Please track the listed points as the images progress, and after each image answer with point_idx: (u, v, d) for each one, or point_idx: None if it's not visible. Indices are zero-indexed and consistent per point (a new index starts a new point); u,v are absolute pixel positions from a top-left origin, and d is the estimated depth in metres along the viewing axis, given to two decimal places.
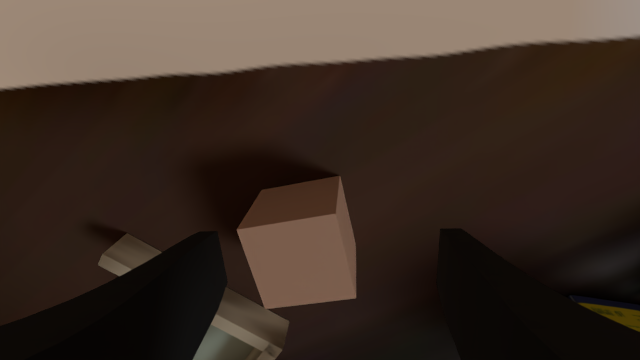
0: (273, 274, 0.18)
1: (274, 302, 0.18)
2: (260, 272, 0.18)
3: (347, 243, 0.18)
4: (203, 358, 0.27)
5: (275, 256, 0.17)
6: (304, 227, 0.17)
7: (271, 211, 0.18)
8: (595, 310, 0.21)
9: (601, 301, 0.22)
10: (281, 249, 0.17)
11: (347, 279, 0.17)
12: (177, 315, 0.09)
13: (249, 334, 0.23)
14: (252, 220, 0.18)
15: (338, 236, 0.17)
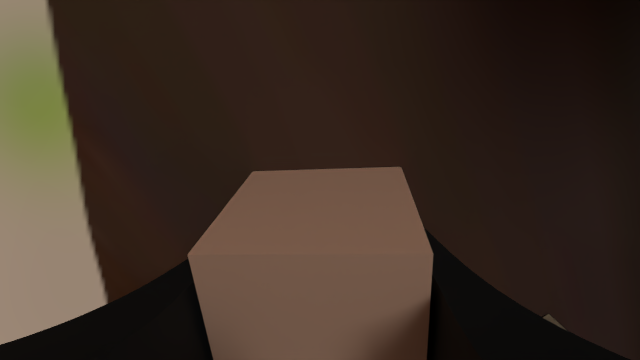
0: None
1: None
2: None
3: (319, 218, 0.08)
4: None
5: None
6: (221, 316, 0.08)
7: None
8: None
9: None
10: None
11: (369, 262, 0.07)
12: None
13: None
14: None
15: (246, 259, 0.07)
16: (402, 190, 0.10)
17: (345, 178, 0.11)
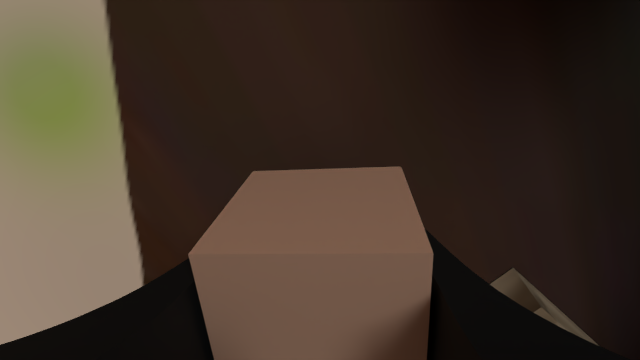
0: None
1: None
2: None
3: (319, 217, 0.08)
4: None
5: None
6: (222, 315, 0.08)
7: None
8: None
9: None
10: None
11: (370, 262, 0.07)
12: None
13: None
14: None
15: (246, 259, 0.07)
16: (402, 190, 0.10)
17: (345, 178, 0.11)
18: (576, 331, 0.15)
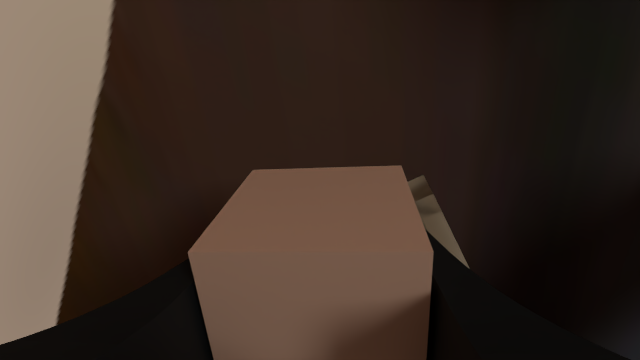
0: None
1: None
2: None
3: (319, 216, 0.08)
4: None
5: None
6: (221, 313, 0.08)
7: None
8: None
9: None
10: None
11: (369, 260, 0.07)
12: None
13: None
14: None
15: (246, 257, 0.07)
16: (402, 189, 0.10)
17: (345, 177, 0.11)
18: None
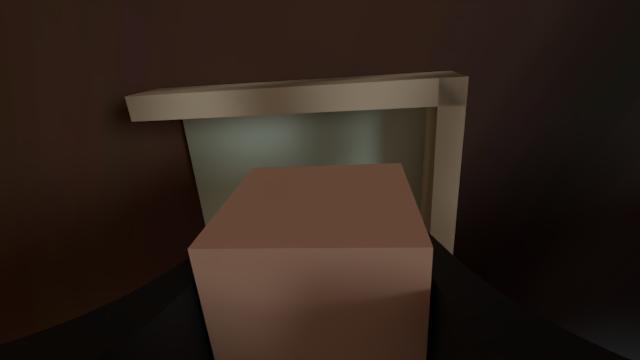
0: None
1: None
2: None
3: (319, 213, 0.08)
4: None
5: None
6: (221, 310, 0.08)
7: None
8: None
9: None
10: (272, 359, 0.08)
11: (369, 256, 0.07)
12: None
13: (397, 86, 0.12)
14: None
15: (246, 253, 0.07)
16: (402, 186, 0.10)
17: (345, 174, 0.11)
18: None
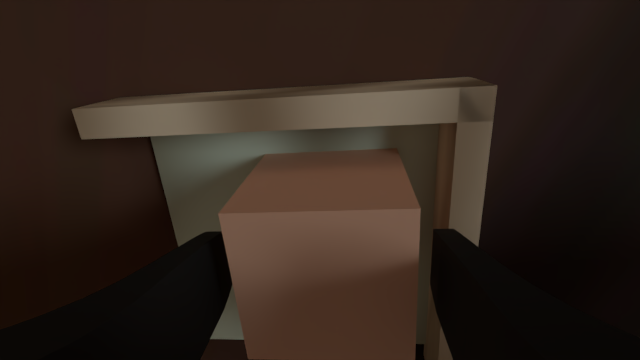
0: (338, 332, 0.10)
1: (401, 346, 0.10)
2: (333, 349, 0.10)
3: (326, 186, 0.10)
4: None
5: (301, 321, 0.10)
6: (245, 267, 0.09)
7: None
8: None
9: None
10: (288, 310, 0.10)
11: (368, 217, 0.08)
12: (185, 315, 0.09)
13: (407, 98, 0.10)
14: None
15: (266, 217, 0.09)
16: (397, 165, 0.11)
17: (347, 157, 0.12)
18: None
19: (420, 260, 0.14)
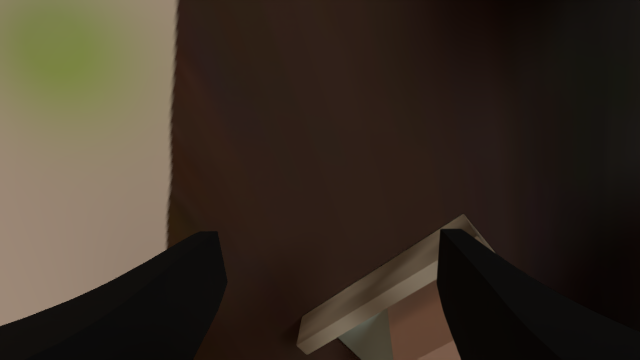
0: None
1: None
2: None
3: (430, 325, 0.19)
4: None
5: None
6: None
7: None
8: None
9: None
10: None
11: None
12: (177, 315, 0.09)
13: None
14: None
15: None
16: None
17: (430, 289, 0.21)
18: None
19: None
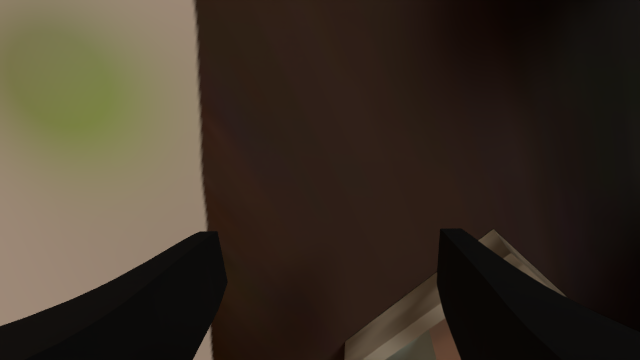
0: None
1: None
2: None
3: None
4: None
5: None
6: None
7: None
8: None
9: None
10: None
11: None
12: (177, 315, 0.09)
13: None
14: None
15: None
16: None
17: None
18: (540, 275, 0.20)
19: None
